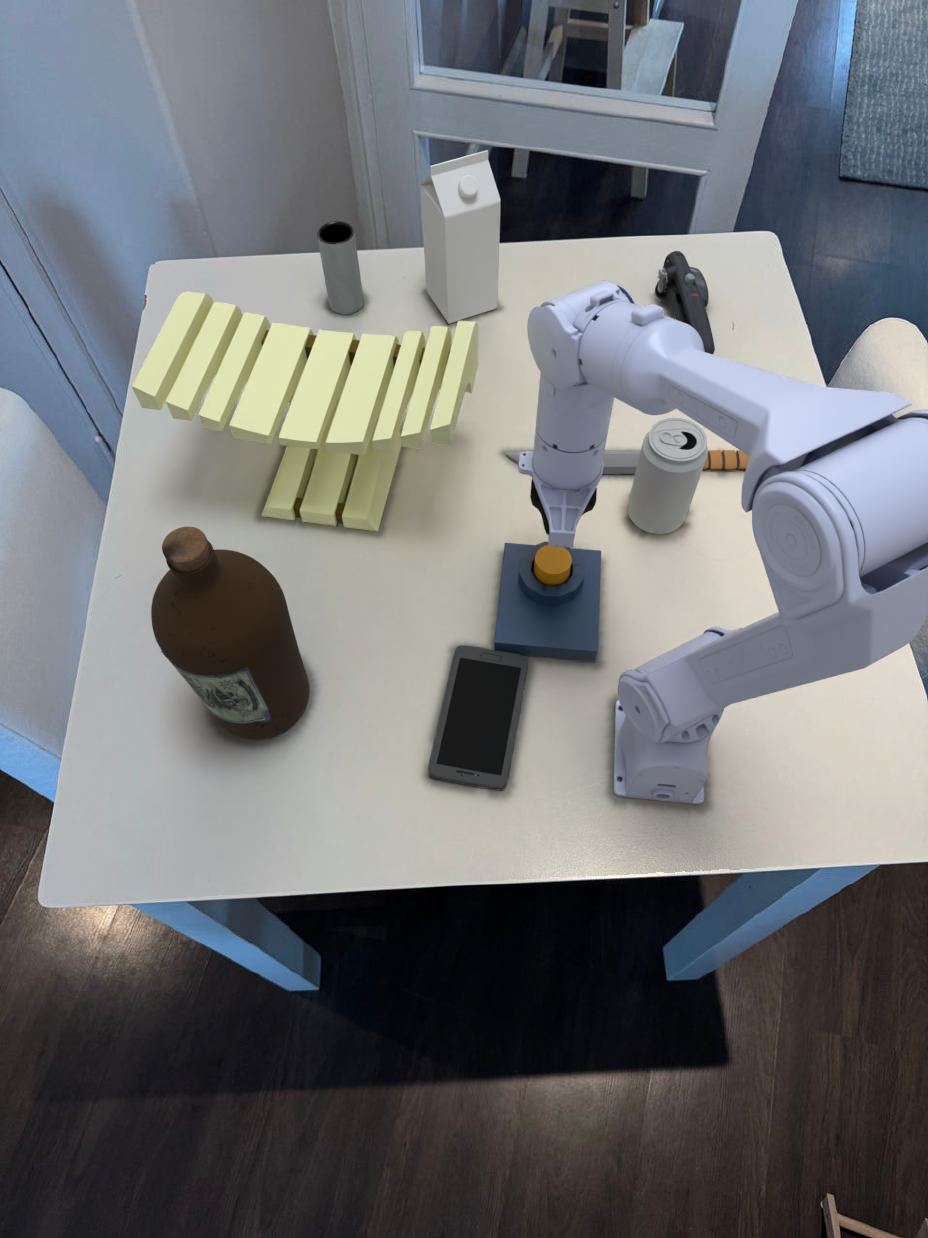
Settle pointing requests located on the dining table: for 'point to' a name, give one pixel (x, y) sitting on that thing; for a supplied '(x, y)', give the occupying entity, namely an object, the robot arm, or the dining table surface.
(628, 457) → the knife
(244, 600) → the brown bottle
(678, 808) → the dining table surface
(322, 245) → the gray cylinder
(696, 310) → the can opener
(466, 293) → the milk carton
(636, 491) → the beverage can
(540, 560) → the trigger button
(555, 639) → the button housing
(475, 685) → the cell phone
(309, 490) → the slatted curved stool
